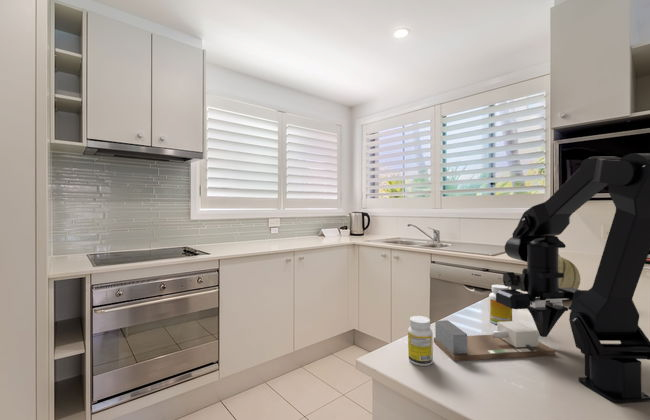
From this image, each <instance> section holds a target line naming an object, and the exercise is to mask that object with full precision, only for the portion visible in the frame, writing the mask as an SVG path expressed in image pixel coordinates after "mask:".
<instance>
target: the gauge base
mask: <svg viewBox="0 0 650 420" xmlns="http://www.w3.org/2000/svg"><path fill="white" fill-rule="evenodd" d="M433 344H435V345H436V346H437V347H438V348H439V349H440V350H441V351H443V352H444V354H446V355H447V356H448V357H449V358H450V359H451V360H452V361H453V362H461V361H476V360H477V361H478V360H490V359H489V358H497V359H511V357H514V358H526V357H527V358H528V357H530V358H531V357H543V356H544V357H545V356H555V355H556V350H555V349H553V348H551V347H549V345H546V344H544V343H542V342H541V341H539V340H538V346H534V347H533V348H535V349H536V350H534V351H533V350H531V349H530V348H528V347H514V346H513V345H511V344H510V343H508V342H506V341H505V340H503V339H502V338H493V337H492V335H491V334H479V335H467V354H460V355H453V354H452V353H451V352H450V351H449V350H448V349H446V348H445V347H444V346H443V345H442V344H441V343H440V342H439V341H438V340H437V339H436V338H435V337H433Z"/></svg>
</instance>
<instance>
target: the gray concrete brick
mask: <svg viewBox="0 0 650 420" xmlns="http://www.w3.org/2000/svg"><path fill="white" fill-rule="evenodd" d="M434 323H435V326H434V327H435V328H434V330H435V337H434V338H436V339H437V340H438V341H439V342H440V343H441V344H442V345H443V346H444V347H445V348H446V349H448V350H449V351H450V352H451V353H452V354H453V355H460V354H467V336H468V333H466V332H465V331H463V330H462V329H460V328H459V327H458V326H456V325H455V324H454V323H452V322H451V321H450V320H448V319H447V320H435V321H434Z"/></svg>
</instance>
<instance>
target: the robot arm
mask: <svg viewBox="0 0 650 420" xmlns="http://www.w3.org/2000/svg"><path fill="white" fill-rule="evenodd" d="M607 185H608V194H609V196H610V198H611V200H612V202H613V204H614V207H615V212H614V215H613V219H612V223H611V226H610V228H609V233H608V235H607V238H606V242H605V245H604V248H603V251H602V255H601V259H600V262H599V265H598V267H597V271H596V274H595V278H594V280H593V284H592V286H591V288H589V289H586V290H585V289H583V290H581V289H579V288H578V289H575V288H571V287H565V288H559V278H564V273H562V272H559V256H560V254H559V249H564V248H566V247H567V246H566V244H565V243H564V242H563V241H561V240H560V239H559V236H560V235H561V234H562V233H563V232H564V231H565V230H566V228H568V226H569V225H570V223H571V221H570V217H571V216H572V215H573V214H574V213H576V211H578V210H579V208H581V207H582V206H583V205H585V204H586V203H587V202H589V201H590V200H591V199H592V198H594V196H596V195H597V194H598V193H599V192H600V191H602V190H603V189H604V188H605V187H606V186H607ZM504 252H505V253H506V255H507V256H508V257H509V258H511V259H514V260H518V261H522V262H526V266H527V268H523V269H522V270H521V271H522V272H521V273H522V274H521V275H516V273H514V272H513V271H512V272H510V271H509V272H503V274H502V283H503V285H504V286H508V287H510V289H507V290H499V291H498V292H497V293H496V302H498V303H500V304H503V305H505V306H507V307H509V308H511V309H512V310H528V312H529V313H530V315H531V317H532V319H533V321H534V324H535V327H536V330H537V331H538V335H539V336H540V337H542V338H547V337H548V336H549V334H550V332H552V329H553V328H554V327H555V326H556V324H557V323H558V321H559V319H560V318H561V317H562V316H563V315H564V313H565V312H568V311H569V310H570V312H569V319H568V320H569V325H570V329H571V333H572V336H573V341H574V344H575V347H576V348H577V349H579V350H580V353H581V354H583V355H584V375H585V376H583V377H582V376H581V377H578V379H577V380H578V382H580V383H581V384H583V385H584V386H586V387H588V388H589V389H592V390H593V391H594V392H596V393H598V394H599V395H601V396H603V397H604V398H606V399H608V400H610V402H613V403H619V404H621V403H633V402H644V401H650V395H648V393H647V394H646V393H645V392H643V391H642V361H640V360H647V361H650V340H649V338H648V337H647V335H646V334H645V333H644V331H643V330H642V328H641V327H640V325H639V321H640V320H639V319H640V313H639V311H638V309H637V306H636V305H635V302H634V300H633V297H634V295H635V291H636V289H637V286H638V283H639V280H640V278H641V275H642V272H643V269H644V267H645V264H646V261H647V259H648V255H649V253H650V152H649V153H648V152H647V153H646V152H644V153H643V152H642V153H639V152H638V153H636V152H635V153H629V154H625V155H624V156H622V157H618V156H614V155H611V156H609V155H608V156H604V155H603V156H590V157H588V158H585V159H584V160H582V162H581V163H580V165H579V168H578V169H577V170H576V171H575V172H574V173H573V174H572V175H571V176H570V177H569V178H568V179H567V180H566V181H565V182H564V183H563V184H562V185H561V186H560V187H559V188H558V189H557V190H556V191H555V192H554V193H553V194H552V195H551V196H550V197H549V198H548V199H547V200H545V201H544V202H542V203H538V204H535V205H532V206H531V207H529V208H528V209H526V210H525V211H524V212H523V214H522V215H521V216H520V219H519V221H518V224H517V225H516V228H515V229H514V231H513V232H512V237H510V238H508V240H507V241H506V242H505V245H504ZM519 290H520V291H519ZM524 292H526V293H524ZM563 302H571V304H570V306H568V307H566V306H564V303H563ZM605 341H606V342H609V341H610V342H611V341H613V342H614V341H615V342H616V341H617V342H619V343H606V342H605ZM602 342H605V343H602Z"/></svg>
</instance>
